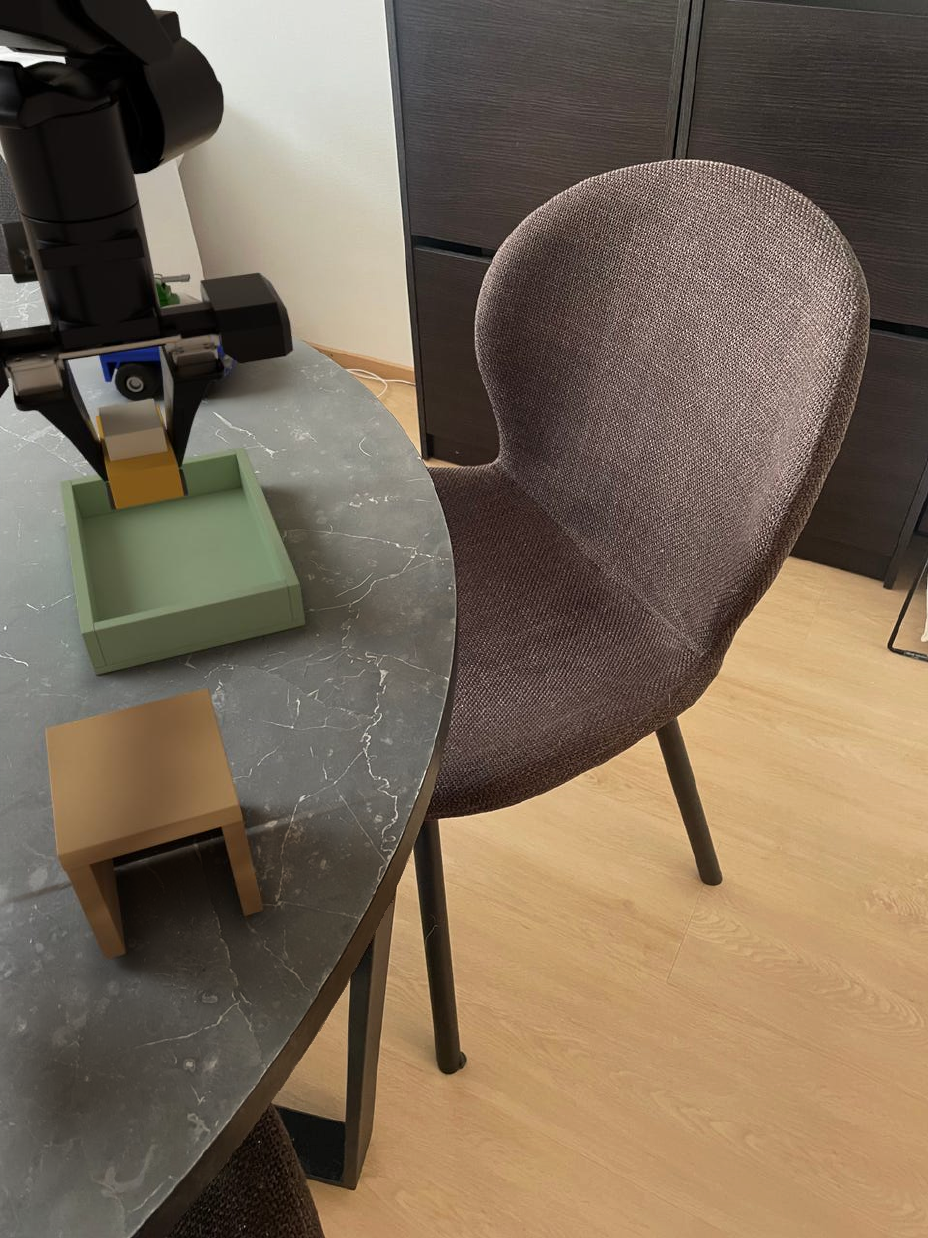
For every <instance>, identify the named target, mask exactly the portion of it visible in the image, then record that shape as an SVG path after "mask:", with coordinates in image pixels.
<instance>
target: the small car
mask: <svg viewBox="0 0 928 1238" xmlns="http://www.w3.org/2000/svg"><path fill="white" fill-rule="evenodd" d="M97 411H98V415H95V417H94V418H95V423H96V429H97V432H98V433H97V434H98V438H99V440H100V443H101V447H102V451H103V456H104V460H105V465H106V470H107V474H108V479H109V482H107V483H105V487H106V492H107V496H108V500H109V504H110V507H111V510H116V509H121V508H125V507H130V506H136V505H141V504H146V503H151V502H156V501H161V500H167V499H172V498H177V497H183V496H188V488H187V484H186V479H185V476H184V472H183V469H178V464H177V461H176V458H175V455H174V452H173V449H172V445H171V442H170V439H169V436H168V433H167V428H166V422H165V420H164V418H163V414H162V410H161V408H160V405H157V404H156V401H155V399H154V398H149V399H147V400H141V401H130V402H129V401H128V402H124V403H118V404H111V405H105V406H99V407H97Z"/></svg>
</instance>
